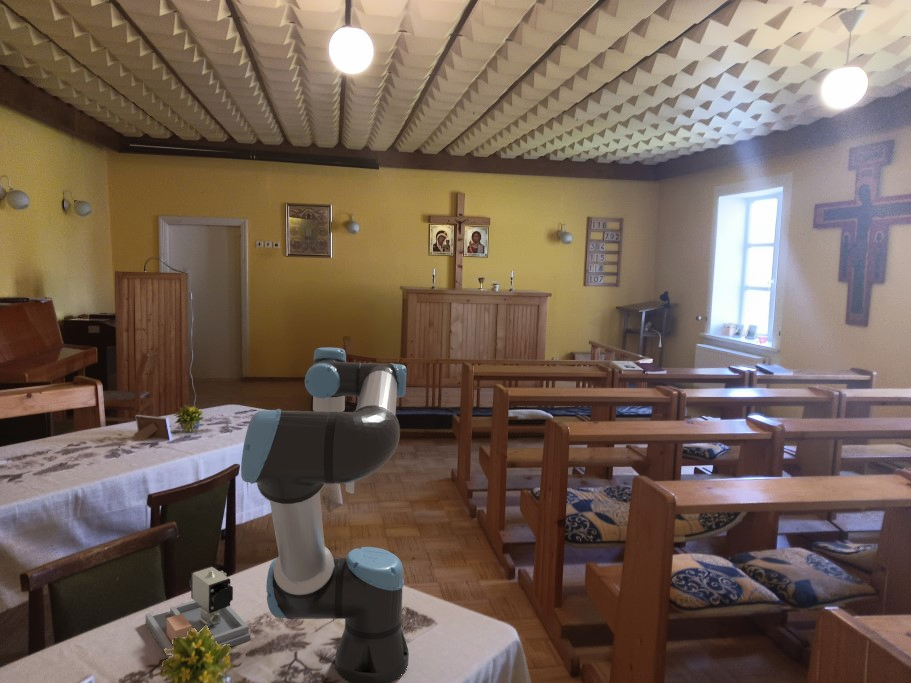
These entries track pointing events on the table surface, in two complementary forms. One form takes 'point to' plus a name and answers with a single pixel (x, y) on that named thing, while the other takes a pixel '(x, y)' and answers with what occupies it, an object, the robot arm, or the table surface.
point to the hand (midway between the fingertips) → (326, 497)
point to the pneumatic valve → (210, 593)
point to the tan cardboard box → (177, 627)
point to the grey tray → (200, 625)
